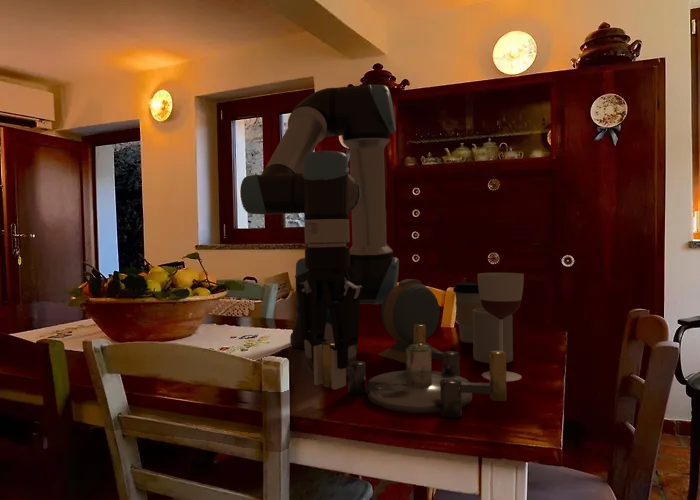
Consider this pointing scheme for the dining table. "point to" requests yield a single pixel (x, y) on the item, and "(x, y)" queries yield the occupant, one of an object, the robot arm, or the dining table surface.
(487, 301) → the wineglass
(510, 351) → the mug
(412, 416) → the dining table surface
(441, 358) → the crank handle
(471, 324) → the coffee cup
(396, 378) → the plate
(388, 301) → the alarm clock
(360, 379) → the knob
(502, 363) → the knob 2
